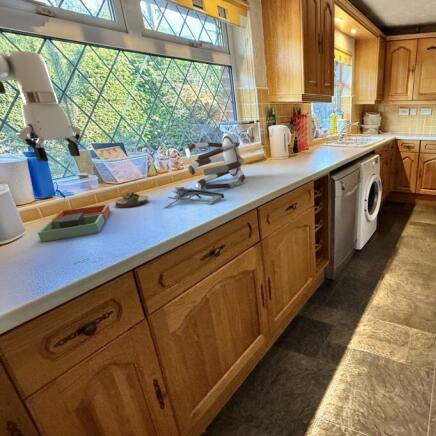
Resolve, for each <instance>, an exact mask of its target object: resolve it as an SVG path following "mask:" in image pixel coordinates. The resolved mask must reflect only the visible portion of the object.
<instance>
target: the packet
mask: <svg viewBox="0 0 436 436" xmlns="http://www.w3.org/2000/svg"><path fill="white" fill-rule="evenodd" d="M58 223H59V226H60V228H61V229H62V228H68V227H74V226H81V225H86V222H85V219H84V216H83V213H79V214H72V215H65V216H64V217H63V218H62V219H61V220H60V221H59V222H58Z"/></svg>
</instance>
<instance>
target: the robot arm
mask: <svg viewBox="0 0 436 436" xmlns="http://www.w3.org/2000/svg"><path fill="white" fill-rule="evenodd" d="M6 81H15V82H16V85H17V87H18V91H19V94H20V96H21V98H22V102H23V104H21V106H20V107H21V108H20V109H21V117H22V121H23V126H24V128H22V129H20V130H19V131H17V132H16V136H17V137H18V138H19V139H20V140H21V141H22V143H24V144H25V145H27V146H28V147H30V148H32V150H33V152H34V156H35V158H36V159H37V161H38V162H48V161H49V158H48V155H47V152H46V149H45V147H43V144H44V142H45V141H53V140H61V139H62V140H64V141H66V142H67V144H66V145H67V149H68V151H69V155H70V156H71V157H80V156H81V153H80V149H79V146H78V144H79V140H80V139H81V131H82V129H81V128H79V127H77V126H75V125H72V124H70V120H69V119H68V117H67V114H66V112H65V110H64V108H63V106H62V105H61V104H59V101H60V100H61V97H60V96H59V95H56V92H55V89H54V86H53V83H52V81H51V77H50V74H49V71H48V67H47V64H46V62H45V59H44V57H43V56H42V55H41V54H39V53H37V52H33V51H28V50H27V51H25V50H24V51H23V50H13V51H9V52H8V53H3V52H0V82H6Z"/></svg>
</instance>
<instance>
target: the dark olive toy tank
mask: <svg viewBox="0 0 436 436" xmlns="http://www.w3.org/2000/svg"><path fill="white" fill-rule="evenodd" d="M121 190H122V191H121V194H120V196H121V197H122V198H119V199H117V200H116V201H115V206H116V207H119V208H127V207H128V208H129V207H135V206H140V205H143V204H144V202H145V201H147V200H148V198H149V196H148V195H141V194H138V193H135V192H134V191H132V190H131V189H129V188H127V189H123V188H121Z"/></svg>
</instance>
